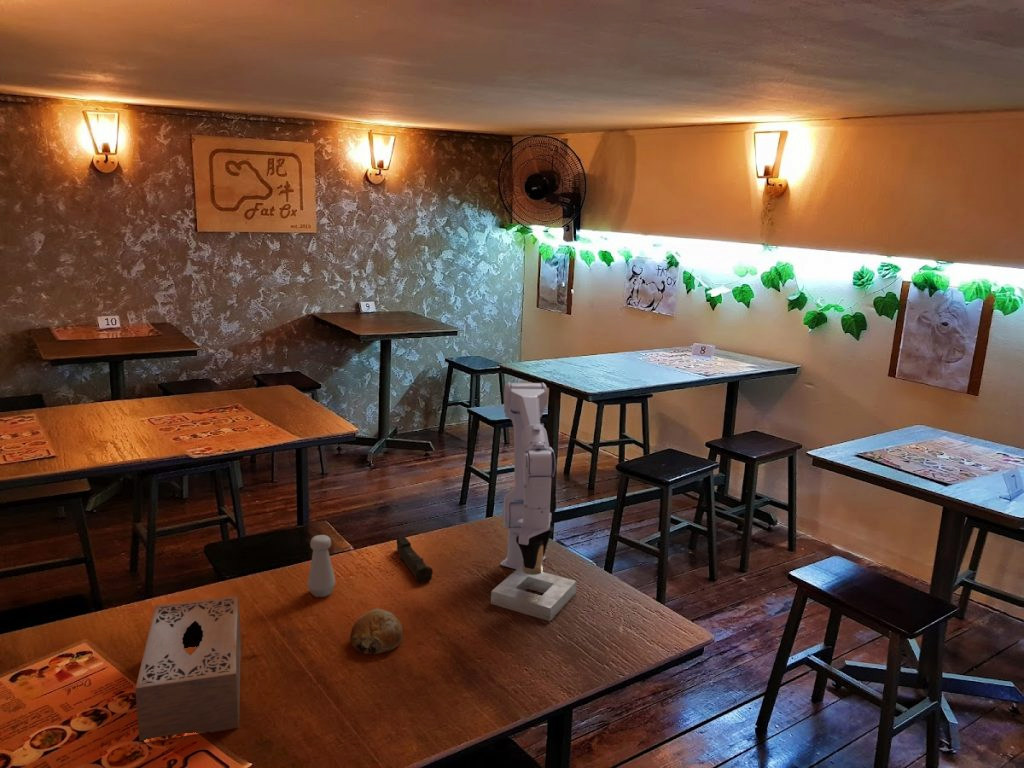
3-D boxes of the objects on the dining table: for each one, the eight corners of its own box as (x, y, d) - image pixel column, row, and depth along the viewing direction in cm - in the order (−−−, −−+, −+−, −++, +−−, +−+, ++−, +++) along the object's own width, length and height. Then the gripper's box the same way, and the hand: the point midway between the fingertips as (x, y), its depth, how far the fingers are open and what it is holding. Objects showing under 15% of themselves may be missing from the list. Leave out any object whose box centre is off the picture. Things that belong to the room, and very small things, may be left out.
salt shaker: (340, 591, 166) (340, 536, 163) (321, 602, 161) (320, 545, 158) (321, 583, 169) (321, 529, 166) (302, 593, 164) (301, 538, 161)
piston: (526, 564, 167) (526, 539, 166) (545, 567, 166) (545, 542, 165) (520, 572, 163) (520, 547, 162) (539, 576, 162) (540, 550, 161)
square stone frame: (520, 577, 175) (520, 565, 174) (575, 593, 169) (576, 580, 168) (491, 603, 163) (491, 591, 162) (549, 621, 157) (550, 608, 156)
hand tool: (433, 582, 172) (433, 563, 171) (416, 585, 170) (416, 566, 169) (409, 549, 189) (409, 531, 188) (393, 551, 187) (393, 533, 186)
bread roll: (405, 662, 147) (419, 622, 148) (366, 661, 139) (381, 619, 140) (374, 642, 153) (388, 604, 154) (335, 639, 146) (350, 599, 147)
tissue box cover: (158, 654, 140) (155, 605, 138) (241, 643, 145) (238, 595, 143) (139, 745, 117) (135, 688, 114) (239, 728, 121) (236, 673, 119)
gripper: (531, 490, 169) (529, 546, 172) (506, 512, 156) (503, 572, 159) (561, 496, 167) (558, 552, 169) (537, 518, 153) (534, 580, 156)
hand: (533, 563), depth 164 cm, fingers closed on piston, 4 cm apart
